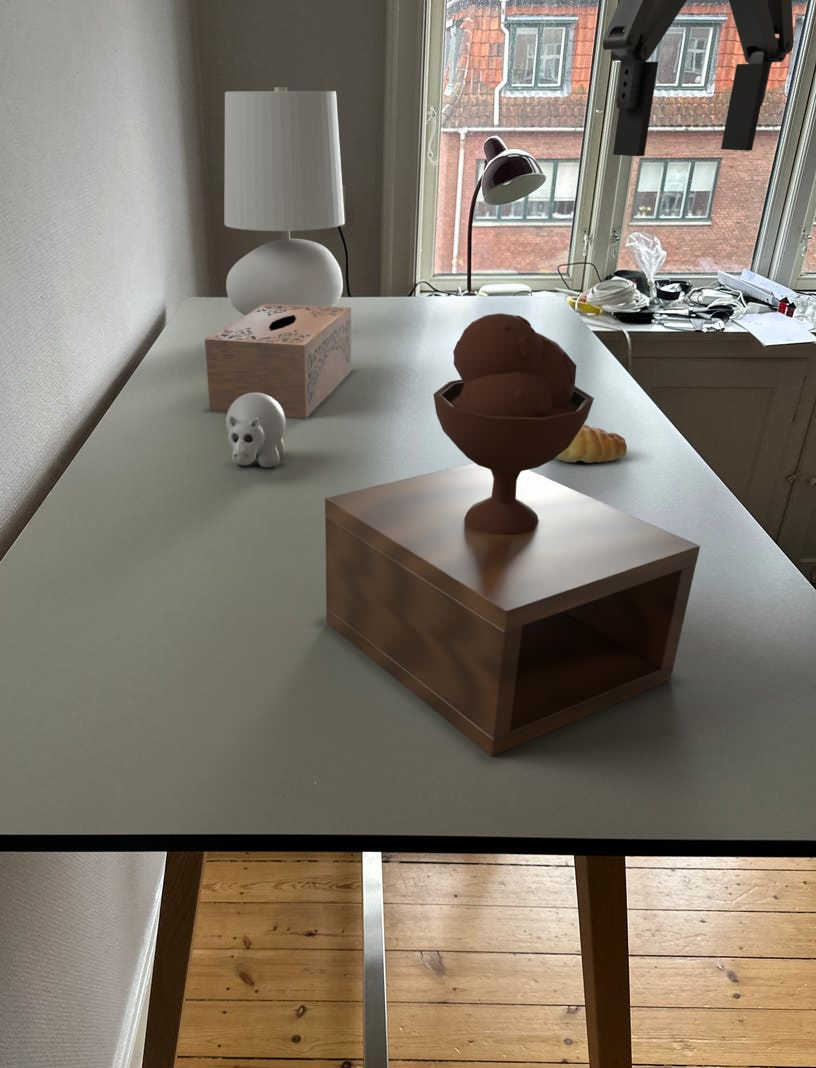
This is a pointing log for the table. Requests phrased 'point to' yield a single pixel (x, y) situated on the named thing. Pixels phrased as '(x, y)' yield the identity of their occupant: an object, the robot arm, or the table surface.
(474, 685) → the shelf
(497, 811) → the table surface
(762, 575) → the table surface
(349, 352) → the tissue box cover
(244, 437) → the chubby cartoon animal
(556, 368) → the ice cream bowl
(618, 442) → the pastry
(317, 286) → the table lamp
